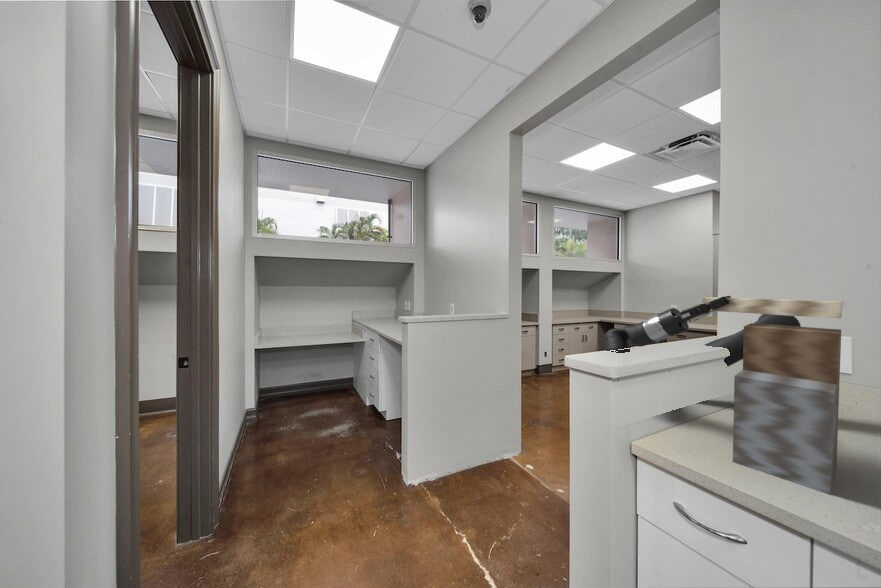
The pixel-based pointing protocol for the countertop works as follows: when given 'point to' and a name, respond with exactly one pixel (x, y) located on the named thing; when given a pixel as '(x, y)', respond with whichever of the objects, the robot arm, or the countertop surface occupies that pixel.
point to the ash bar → (782, 307)
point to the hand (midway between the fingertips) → (729, 299)
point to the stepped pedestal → (788, 403)
